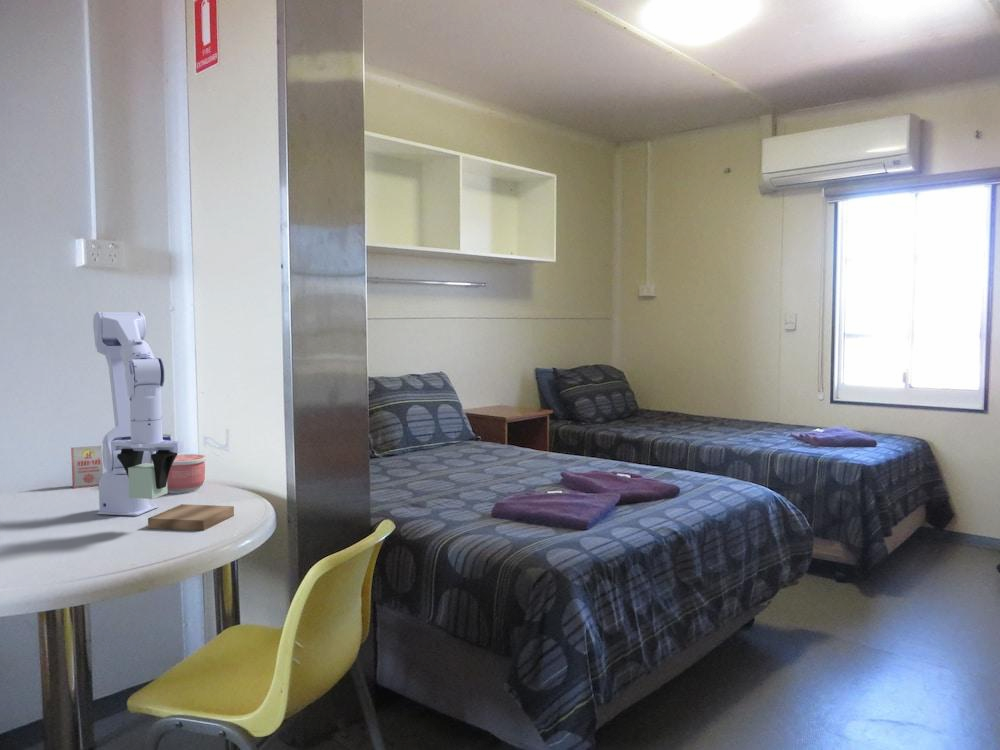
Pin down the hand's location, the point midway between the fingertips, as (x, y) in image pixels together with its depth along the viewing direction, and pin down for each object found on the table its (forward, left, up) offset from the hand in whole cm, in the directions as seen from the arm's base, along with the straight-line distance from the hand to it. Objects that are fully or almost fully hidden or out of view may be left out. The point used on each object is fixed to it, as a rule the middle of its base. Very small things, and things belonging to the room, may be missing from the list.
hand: (148, 487), depth 152 cm
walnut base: (+5, +6, -8) cm, 12 cm away
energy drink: (-25, +42, -9) cm, 50 cm away
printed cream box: (-41, +35, -9) cm, 55 cm away
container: (-14, +34, -9) cm, 38 cm away
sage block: (0, 0, -2) cm, 2 cm away
